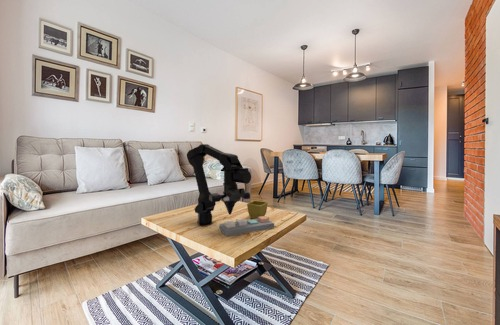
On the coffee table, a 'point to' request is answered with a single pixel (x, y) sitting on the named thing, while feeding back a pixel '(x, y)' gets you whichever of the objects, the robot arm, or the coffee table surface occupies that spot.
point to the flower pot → (257, 209)
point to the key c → (252, 222)
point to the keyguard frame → (246, 228)
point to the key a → (229, 224)
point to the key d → (263, 219)
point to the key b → (241, 222)
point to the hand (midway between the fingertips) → (229, 214)
